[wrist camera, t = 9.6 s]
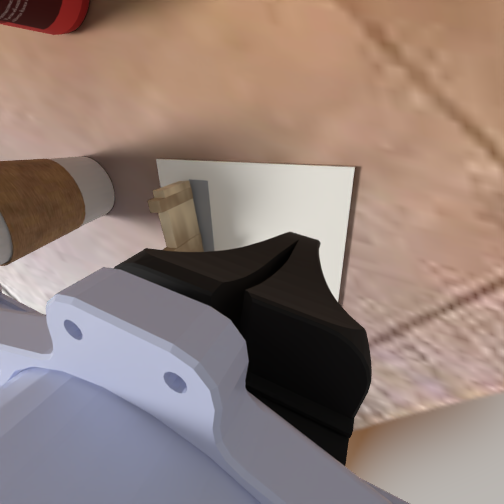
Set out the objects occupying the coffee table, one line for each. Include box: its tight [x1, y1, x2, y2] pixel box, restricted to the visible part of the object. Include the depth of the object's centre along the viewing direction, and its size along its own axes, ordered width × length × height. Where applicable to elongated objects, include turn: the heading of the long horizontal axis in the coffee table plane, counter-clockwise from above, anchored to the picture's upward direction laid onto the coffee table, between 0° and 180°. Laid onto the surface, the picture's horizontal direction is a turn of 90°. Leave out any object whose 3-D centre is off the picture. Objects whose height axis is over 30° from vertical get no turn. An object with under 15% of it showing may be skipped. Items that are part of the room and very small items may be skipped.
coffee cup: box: [0, 157, 115, 266], centre depth 23 cm, size 8×8×15 cm
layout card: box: [156, 159, 355, 302], centre depth 26 cm, size 20×16×1 cm
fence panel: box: [147, 181, 204, 252], centre depth 24 cm, size 10×1×4 cm, turn 8°
